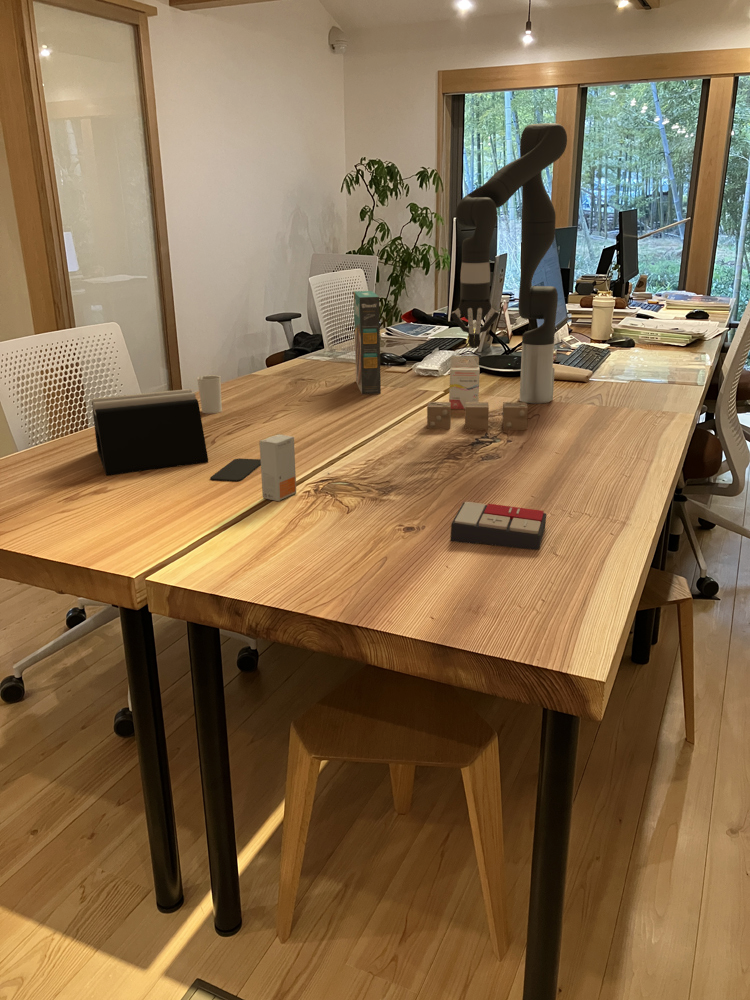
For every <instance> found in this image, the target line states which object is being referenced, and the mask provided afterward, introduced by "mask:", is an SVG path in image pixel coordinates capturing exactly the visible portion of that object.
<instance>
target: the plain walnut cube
mask: <svg viewBox="0 0 750 1000" xmlns="http://www.w3.org/2000/svg"><path fill="white" fill-rule="evenodd" d="M489 406H490V405H489V402H488V401H485V402H484V401H479V402H466V405H465V409H464V411H465V412H464V413H465V415H464V429H465V430H481V431H482V430H489V413H490V411H489V409H490V407H489Z"/></svg>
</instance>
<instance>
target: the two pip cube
mask: <svg viewBox="0 0 750 1000" xmlns="http://www.w3.org/2000/svg"><path fill="white" fill-rule="evenodd" d="M528 408H529V407H528V403H526V402H522V401H520V402H517V401H515V402H514V401H513V402H510V401H507V402H503V403H502V430H503V431H508V430H509V431H527V430H528V429H527V428H528V411H529V410H528Z"/></svg>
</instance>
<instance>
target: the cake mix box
mask: <svg viewBox="0 0 750 1000" xmlns="http://www.w3.org/2000/svg"><path fill="white" fill-rule="evenodd" d="M353 314H354V316H353V318H354V319H353V320H354V324H353V326H354V355H355V356H354V357H355V362H354V363H355V383H356V385H357V387H358V389H359V391H360V394H361V395H381V394H382V393H381V392H382V390H381V389H382V387H381V385H382V383H381V381H382V380H381V330H380V328H381V327H380V323H381V322H380V321H381V320H380V296H379V295H378V294H376V292H374V291H372V290H363V291H362V290H361V291H360V290H358V291H355V290H354V291H353Z"/></svg>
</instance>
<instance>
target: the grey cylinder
mask: <svg viewBox="0 0 750 1000" xmlns="http://www.w3.org/2000/svg"><path fill="white" fill-rule="evenodd" d="M221 381H222V380H221V375H209V374H208V375H202V376H197V385H198V391H199V392H198V393H199V399H200V406H201V407H200V408H201V413H202V414H209V415H210V414H218V413H221V412H223V407H222V384H221V383H222V382H221Z"/></svg>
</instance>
